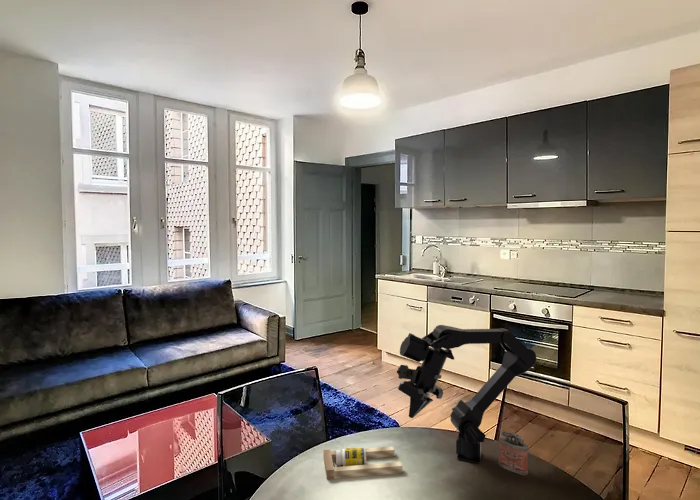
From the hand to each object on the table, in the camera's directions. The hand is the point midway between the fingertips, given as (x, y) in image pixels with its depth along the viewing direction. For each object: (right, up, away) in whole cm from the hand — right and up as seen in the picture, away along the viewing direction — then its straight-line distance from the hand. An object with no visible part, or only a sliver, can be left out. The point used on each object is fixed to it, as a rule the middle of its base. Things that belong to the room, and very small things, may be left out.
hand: (410, 417), depth 120 cm
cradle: (-14, -13, -2) cm, 19 cm away
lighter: (+28, -13, -3) cm, 32 cm away
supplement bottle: (-13, -11, -2) cm, 17 cm away
